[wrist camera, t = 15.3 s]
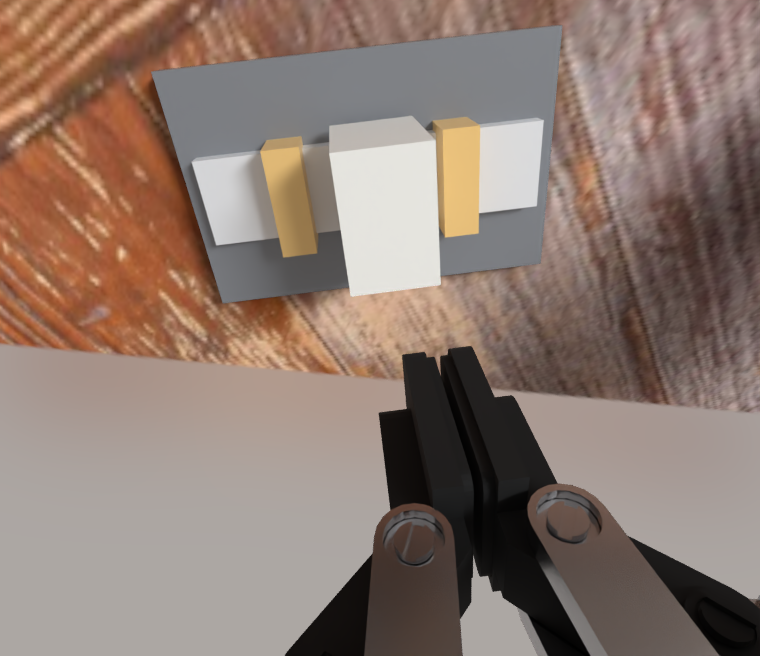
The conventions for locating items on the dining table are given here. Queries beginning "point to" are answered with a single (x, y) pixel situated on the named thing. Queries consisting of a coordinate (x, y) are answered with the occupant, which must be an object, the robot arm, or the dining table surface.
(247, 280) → the rail board
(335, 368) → the dining table surface
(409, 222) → the block
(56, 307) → the dining table surface
